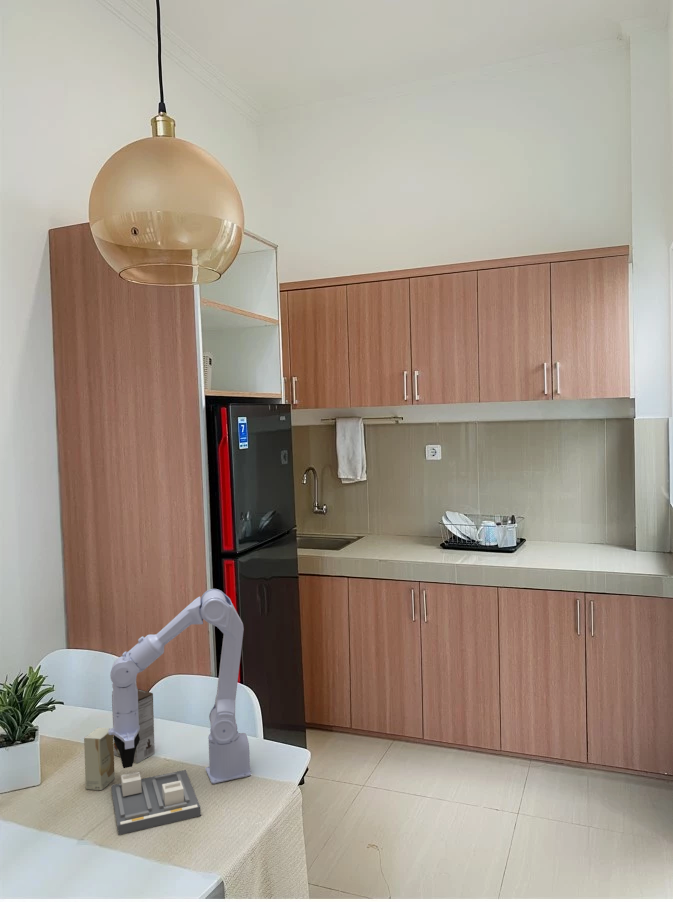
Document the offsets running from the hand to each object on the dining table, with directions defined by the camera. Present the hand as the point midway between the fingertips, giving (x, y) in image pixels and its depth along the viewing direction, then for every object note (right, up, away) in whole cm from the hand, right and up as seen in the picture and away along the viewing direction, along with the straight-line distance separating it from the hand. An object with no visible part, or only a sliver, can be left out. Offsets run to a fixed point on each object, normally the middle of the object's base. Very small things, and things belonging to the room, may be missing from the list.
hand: (127, 766), depth 166 cm
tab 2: (+13, -2, -11) cm, 17 cm away
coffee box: (-3, -4, +16) cm, 17 cm away
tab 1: (+3, -3, -6) cm, 7 cm away
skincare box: (-7, -5, +2) cm, 9 cm away
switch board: (+8, -5, -8) cm, 13 cm away
